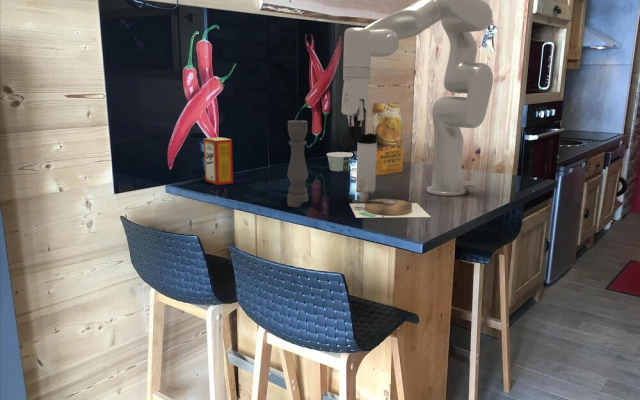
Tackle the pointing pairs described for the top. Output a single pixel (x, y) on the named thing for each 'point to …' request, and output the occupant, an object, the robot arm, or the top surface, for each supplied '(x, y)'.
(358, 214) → the dial plate
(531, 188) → the top surface
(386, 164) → the pancake mix bag
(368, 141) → the travel mug
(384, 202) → the dial
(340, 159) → the food container
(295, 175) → the candle holder
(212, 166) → the baking soda box
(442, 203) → the top surface
